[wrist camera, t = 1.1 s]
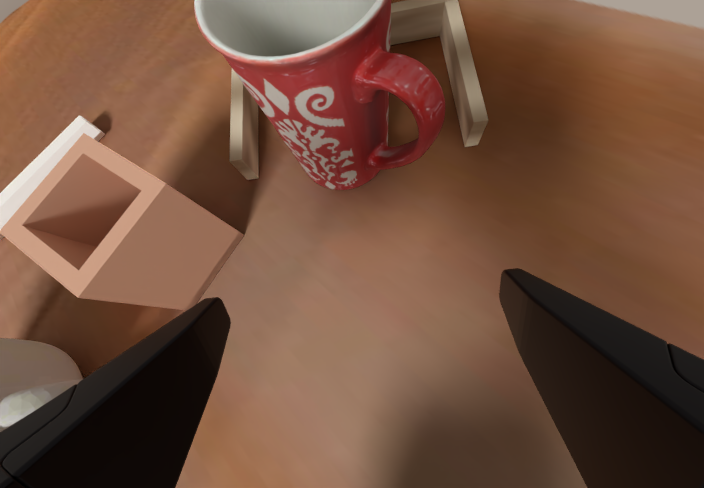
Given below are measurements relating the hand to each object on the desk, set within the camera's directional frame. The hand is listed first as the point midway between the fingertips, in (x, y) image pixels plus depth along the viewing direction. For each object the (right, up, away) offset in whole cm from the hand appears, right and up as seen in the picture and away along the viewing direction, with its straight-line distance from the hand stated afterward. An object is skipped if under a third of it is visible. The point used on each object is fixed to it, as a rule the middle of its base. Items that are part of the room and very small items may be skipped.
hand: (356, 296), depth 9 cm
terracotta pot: (-14, +1, +17) cm, 22 cm away
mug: (0, +8, +17) cm, 19 cm away
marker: (-29, +6, +21) cm, 36 cm away
